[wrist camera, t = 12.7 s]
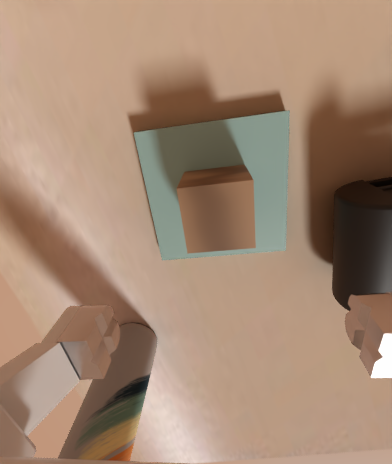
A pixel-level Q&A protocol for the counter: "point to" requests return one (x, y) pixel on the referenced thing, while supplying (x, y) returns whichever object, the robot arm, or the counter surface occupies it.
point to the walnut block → (217, 209)
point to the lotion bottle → (114, 401)
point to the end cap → (362, 239)
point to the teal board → (214, 156)
